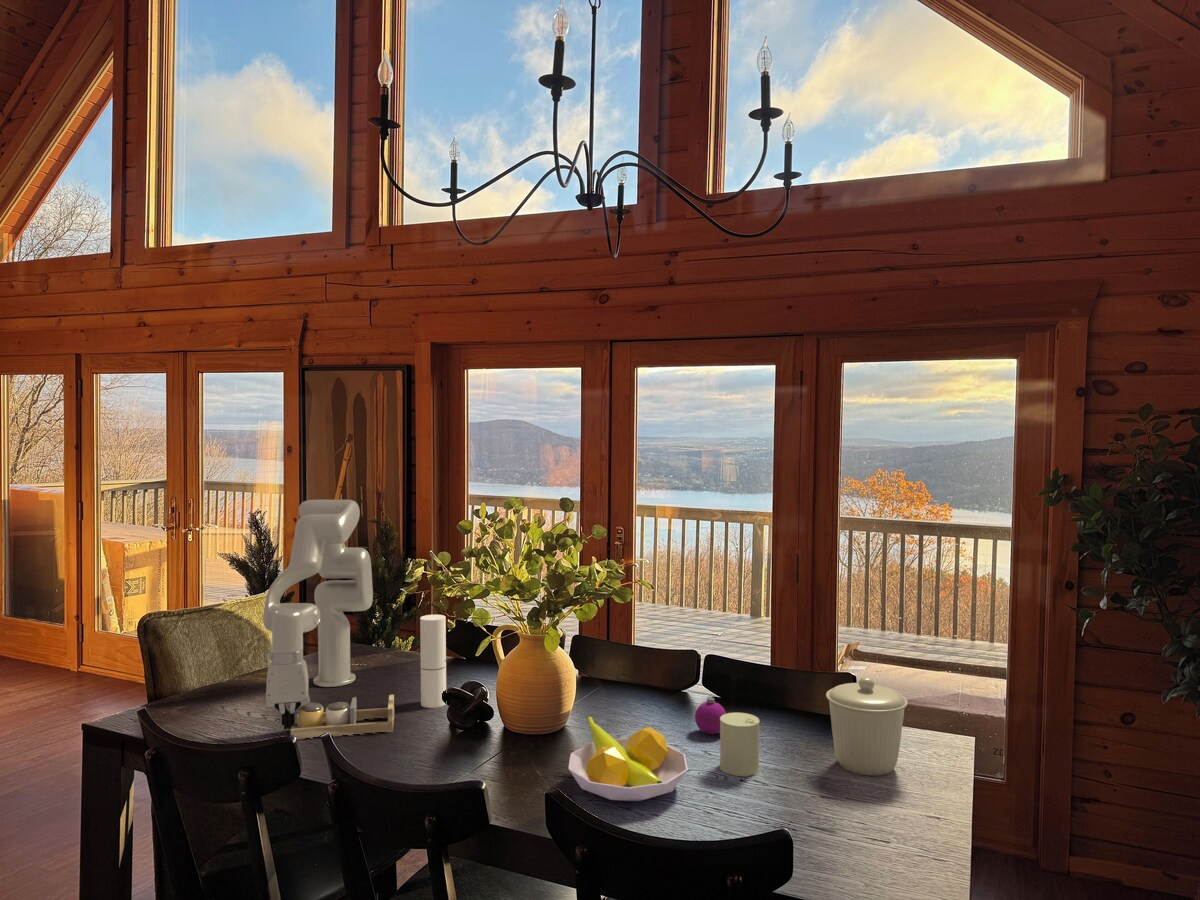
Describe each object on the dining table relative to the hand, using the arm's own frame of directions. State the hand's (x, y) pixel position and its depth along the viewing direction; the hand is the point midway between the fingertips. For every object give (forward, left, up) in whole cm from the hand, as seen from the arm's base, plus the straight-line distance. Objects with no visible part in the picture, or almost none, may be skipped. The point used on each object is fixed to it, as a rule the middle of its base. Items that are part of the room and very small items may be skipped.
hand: (288, 727), depth 213 cm
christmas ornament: (+24, +107, -2) cm, 110 cm away
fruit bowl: (+49, +78, -2) cm, 93 cm away
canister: (+52, +135, -2) cm, 145 cm away
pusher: (-1, +16, -1) cm, 16 cm away
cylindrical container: (-15, +37, -2) cm, 40 cm away
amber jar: (0, +5, -1) cm, 5 cm away
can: (+46, +106, -2) cm, 116 cm away
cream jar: (-1, +12, -2) cm, 13 cm away
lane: (-1, +14, -1) cm, 14 cm away
